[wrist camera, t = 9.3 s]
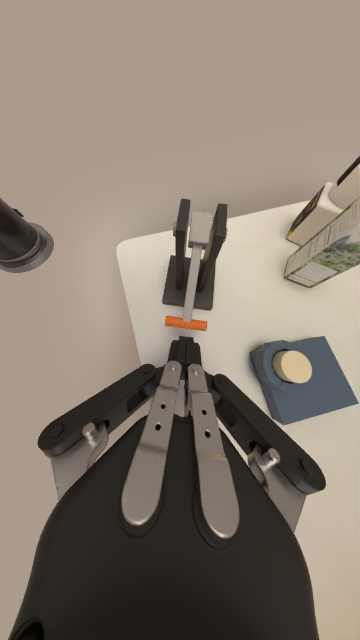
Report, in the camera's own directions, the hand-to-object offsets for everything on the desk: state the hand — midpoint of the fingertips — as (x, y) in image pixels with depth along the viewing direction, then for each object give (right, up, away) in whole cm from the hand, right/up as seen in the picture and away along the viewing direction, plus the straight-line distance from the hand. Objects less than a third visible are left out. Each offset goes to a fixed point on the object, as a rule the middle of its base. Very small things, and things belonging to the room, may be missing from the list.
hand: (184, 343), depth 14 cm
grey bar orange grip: (+1, +8, +3) cm, 9 cm away
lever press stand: (+1, +10, +12) cm, 15 cm away
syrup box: (+24, +12, +13) cm, 30 cm away
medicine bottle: (+28, +22, +16) cm, 39 cm away
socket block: (+18, -7, +8) cm, 21 cm away
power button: (+15, -4, +4) cm, 16 cm away
